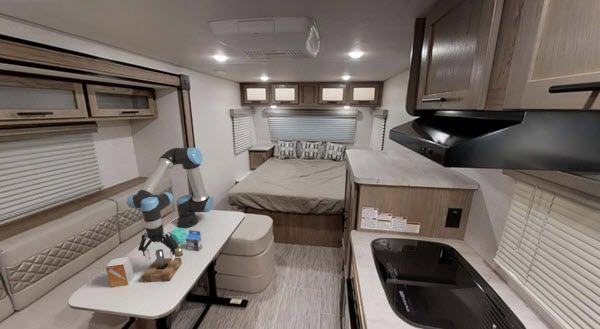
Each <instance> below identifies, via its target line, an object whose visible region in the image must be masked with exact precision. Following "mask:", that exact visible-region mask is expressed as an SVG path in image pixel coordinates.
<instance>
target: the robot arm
mask: <svg viewBox="0 0 600 329" xmlns="http://www.w3.org/2000/svg"><path fill="white" fill-rule="evenodd" d="M202 163H203V154H202V152H201V150H200V149H199V148H198V147H191V146H190V147H173V148H170V149H169V150H167V151H166V152H164V153H163V154H162V155H161V156H159V159H158V160H157V164H156V166H155V167H154V169H153V170H152V171H151V173H150V175H148V177H147V178H146V180H145V182H144V183H143V184H142V185H141V187H140V189H139V190H138V192H137V193H136V194H131V195H130V196H128V197H127V199H126V204H127V206H128V207H129V208H131V209H141V211H142V216H143V221H144V227H145V231H146V232H145V233H143V234H142V235H141V241H140V244H139V245H138V246H139V247H138V249H137V250H138V251H139V252H140V251H141V252H142V253H143V254H142V255H143V256H144V258H145V261H146V263H148V262H149V261H150V260H151V255H150V249H149V246H150V245H151V243H152V242H153V243H161V244H163V245H164V246H165V247H167V248H168V249H169V253H170V255H169V256H170V258H171V261H173V260H174V259H175V258H176V249H177V247H179V244H177V243H176V242H175V240H174V239H173V238H172V236H171V234H170V232H171V231H169V232H166V233H165V232H164V225H163V220H162V216H161V212H162V211H163V210H164V209H166V208H167V207H168V206H169V207H170V205H171V204H172V203H173V202H174V196H173V194H172V193H171V192H167V191H164V192H161V194H155V193H156V191H157V190H158V188H159V186H160V185H161V183H162V182H163V180H164V178H165V177H166V176H167V174H168V172H169V171H170V169H173V167H174V166H176V165H181V166H182V168H183V170H186V173H187V178H188V180H189V183H190V187H191V191H192V194H184V195H181V196H180V197H178V198H177V199H176V200H175V201H176V207H177V214H178V218H177V223H176V224H177V228H183V229H188V228H191V227H194V226H196V225H198V223H199V222H200V221H199V218H198V215H197V214H196V213H208V212H210V211H211V210H212V209H213V205H214V198H213V197H211V196H210V194H209V193H207V192H206V188H205V184H204V181H203V177H202V173H201V169H200V166H201V165H202ZM147 239H148V241H147V243H146V240H147ZM145 243H146V244H145Z"/></svg>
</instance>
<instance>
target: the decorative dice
mask: <svg viewBox="0 0 600 329" xmlns="http://www.w3.org/2000/svg"><path fill="white" fill-rule="evenodd" d="M169 232H170V234H171V236H172V238H173V239H174V240H175V242H176V243H177V244H178V245H180V244H182V243H184V242H186V237H187V236H188V232H187V231H186V228H179V227H177V228H174V229H172V230H171V231H169Z"/></svg>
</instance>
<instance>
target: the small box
mask: <svg viewBox="0 0 600 329" xmlns="http://www.w3.org/2000/svg"><path fill="white" fill-rule="evenodd" d="M105 269H106V272H107V276H108V280H109V284H110V288H116V287H122V286H128V285H130V283H131V282H132V281H133V278H134V277H135V274H134V270H133V267H132V262H131V257H130V256H125V257H117V258H112V259H111V260H110V261H109V262H108V263H107V265H106V266H105Z"/></svg>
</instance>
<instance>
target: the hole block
mask: <svg viewBox="0 0 600 329" xmlns="http://www.w3.org/2000/svg"><path fill="white" fill-rule="evenodd" d="M164 259H165V264H166V268H165V269H159V267H158V262H157V258H156V259H155V260H153V263H151V265H150V266H149V267H148V268H147V269H146V270H145V271H144V273H143V274H142V275H141V280H142V283H158V282H159V283H160V282H171V280H172V279H173V277H174V276H175V274H176V273H177V271H178V270H179V268H180V267H181V266H182V264H183V263H182V257H175V259H174V260H173V261H171V257H167V258H166V257H164Z"/></svg>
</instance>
